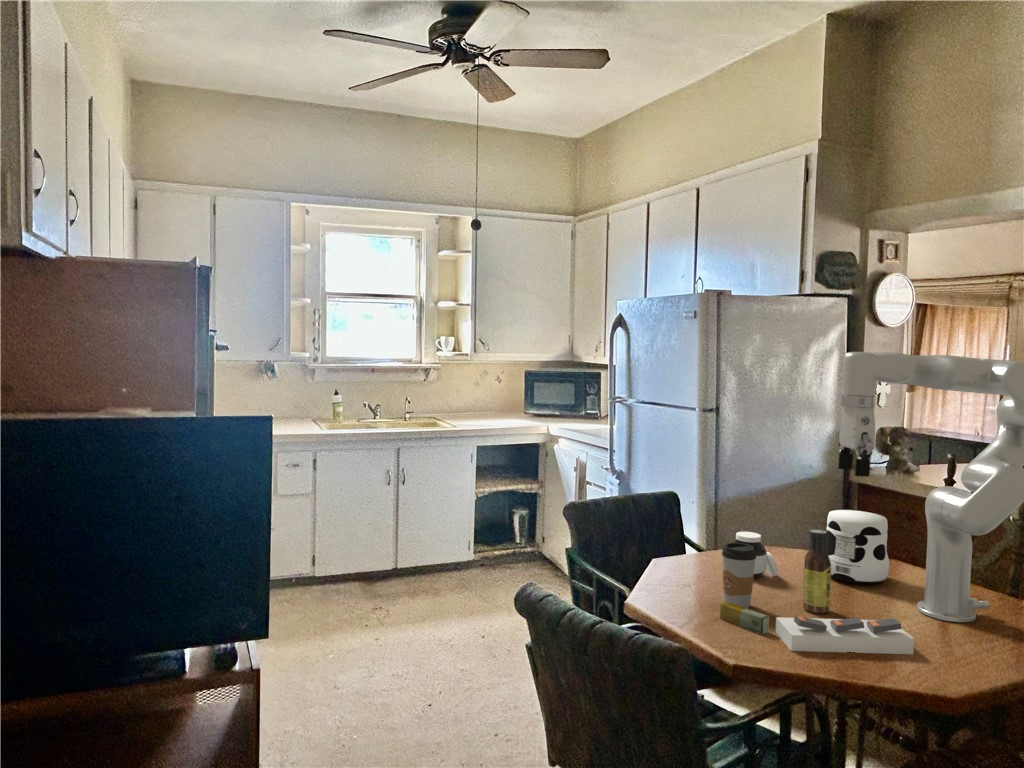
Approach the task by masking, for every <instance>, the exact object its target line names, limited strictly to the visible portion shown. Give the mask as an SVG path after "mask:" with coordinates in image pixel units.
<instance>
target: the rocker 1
mask: <svg viewBox="0 0 1024 768" xmlns="http://www.w3.org/2000/svg"><path fill="white" fill-rule="evenodd" d="M793 618H794V622H795V623H796V624H797V625H798V626H801V627H806V628H811V629H816V630H821V631H826V629H827V626H826V625H825V624H824V623H823V622H822V621H819V620H814V619H809V617H804V616H800V615H794V617H793Z"/></svg>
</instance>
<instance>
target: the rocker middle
mask: <svg viewBox="0 0 1024 768" xmlns="http://www.w3.org/2000/svg"><path fill="white" fill-rule="evenodd" d="M841 619H842V620H835V621H830V624H831V627H832V628H833V629H834V630H835V631H836V632H839V631H846V630H853V629H860V628H864V622H862V621H861V620H862V619H860V618H859V617H850V618H841Z"/></svg>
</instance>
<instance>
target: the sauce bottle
mask: <svg viewBox="0 0 1024 768" xmlns="http://www.w3.org/2000/svg"><path fill="white" fill-rule="evenodd" d="M826 539H827V530H823V529H822V530H821V529H811V530H809V550H808V551H807V552H806V554H805V556H804V567H803V582H802V585H803V588H802V589H803V590H802V593H803V594H802V602H803V609H804V610H806V611H807V612H810V613H813V614H826V613H828V612H829V611H830V606H831V581H832V576H831V562H830V559H829V556H828V553H827V549H826Z"/></svg>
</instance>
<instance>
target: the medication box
mask: <svg viewBox="0 0 1024 768" xmlns="http://www.w3.org/2000/svg"><path fill="white" fill-rule="evenodd" d="M719 607H720V610H719V612H720V613H719V619H720V618H721V619H720V620H722V619H723V620H722V621H725V620H726V621H725V622H727V621H728V623H730V622H731V623H730V624H733V623H734V624H733V625H735V624H736V626H738V625H739V626H738V627H740V626H742V627H741V628H743V627H744V629H746V628H747V629H746V630H748V629H749V631H751V630H752V631H751V632H754V631H755V632H754V633H756V632H758V633H757V634H759V633H761V634H760V635H762V634H764V635H766V634H765V633H767V634H768V633H769V629H770V615H768V614H764V613H762V612H759V611H755V610H752V609H750V608H747V609H746V608H743V607H741V606H738V605H735V604H732V603H729V602H724V601H723V602H721V603H720V606H719Z"/></svg>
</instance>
